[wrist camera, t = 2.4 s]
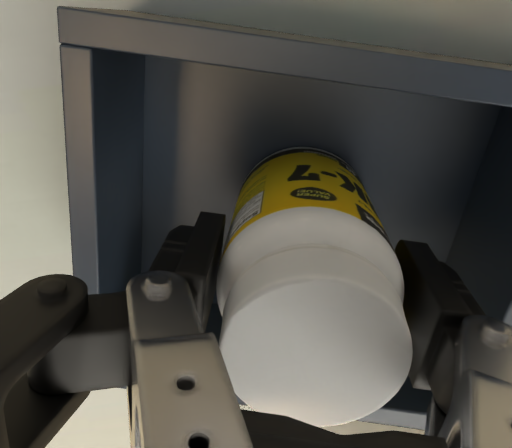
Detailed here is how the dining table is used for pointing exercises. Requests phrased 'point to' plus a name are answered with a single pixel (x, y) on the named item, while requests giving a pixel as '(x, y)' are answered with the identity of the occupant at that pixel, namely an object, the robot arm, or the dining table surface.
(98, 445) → the dining table surface
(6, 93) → the dining table surface
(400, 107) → the open box
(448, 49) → the dining table surface
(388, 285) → the supplement bottle
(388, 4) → the dining table surface
